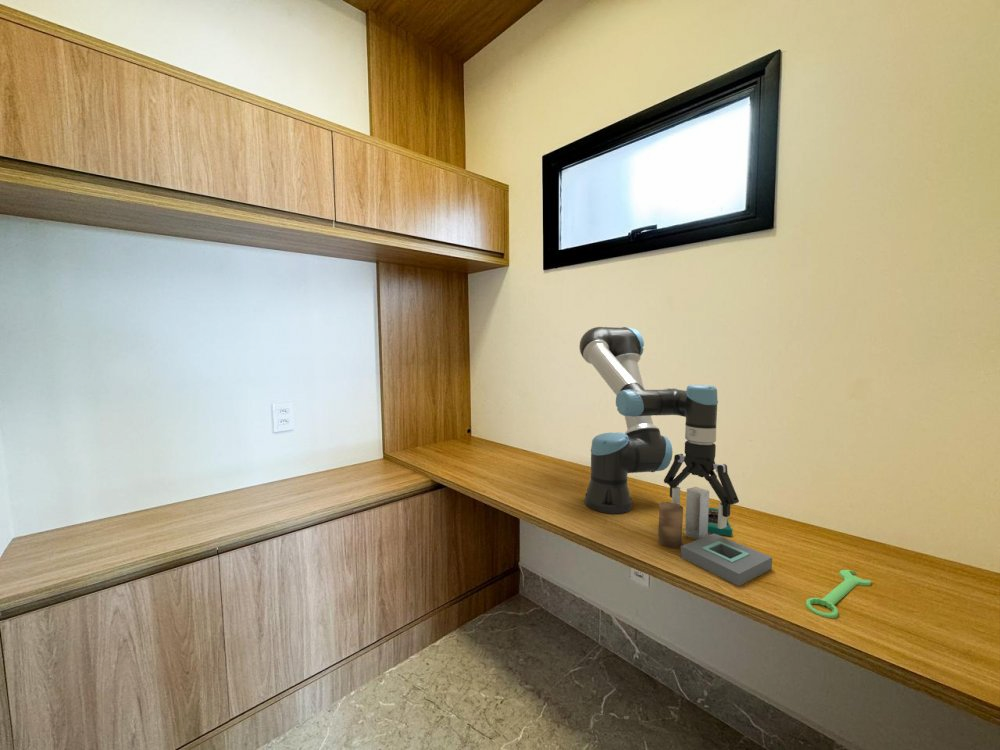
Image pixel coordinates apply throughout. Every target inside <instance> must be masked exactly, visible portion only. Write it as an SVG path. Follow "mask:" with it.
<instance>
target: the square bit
mask: <svg viewBox="0 0 1000 750" xmlns="http://www.w3.org/2000/svg"><path fill="white" fill-rule="evenodd" d="M685 503H686V504H685V525H684V527H685V528H684V535H685V536H688V537H689V538H692V539H693V540H695V541H696V540H698V539H701V538H703V537H706V536H708V534H709V533H708V512H709V508H710V490H707V489H704V488H701V487H698V486H693V487H689V488H687V489H686V502H685Z"/></svg>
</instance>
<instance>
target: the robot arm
mask: <svg viewBox="0 0 1000 750" xmlns="http://www.w3.org/2000/svg"><path fill="white" fill-rule="evenodd" d="M644 342H645V341H644V339H643V335H642V334H641V333H640V331H638V330H637V329H635V328H633V327H628V326H622V327H608V326H605V327H604V326H597V327H593V328H590V329H588V330H587V331H586V332H584V333H583V335H582V337H581V338H580V341H579V346H578V347H579V353H580V355H581V357H582V358H583V360H584V361H585V362H586V363H588V364H591V366H593V367H594V369H595V370H596V371H597V372H598V374H599V375H600V376H601V378H603V380H604V382H605V383H606V384H607V386H608V387H609V388H610V389H611V390H612V392H613V393H614V394H615V395H616V398H615V406H616V408H617V409H616V410H617V412H618V413H619V414H620V415H621V416H624V419H625V422H626V423H625V424H626V427H627V430H626V431H625V433H624V432H623V433H622V432H604V433H600V434H597V435H596V436H594V437H593V438H592V440H591V447H590V456H591V457H590V481H589V482H588V483H589V484H588V486H587V489H586V493H585V494H584V504H585V506H586V507H587V508H589V509H591V510H593V511H596V512H600V513H604V514H612V515H615V514H625V513H628V512H630V511H632V509H633V499H632V497H631V495H630V490H629V486H628V474H633V473H635V474H636V473H649V472H650V473H655V472H661V471H665V470H666V469H667V468H668V467H669V466H670V464H671V461H672V458H673V462H672V464H671V466H670V468H669V470H668V472H667V474H666V475H665V477H664V479H663V483H664V484H667V485H668V486H669V497H670V499H671V503H676V504H679V505H681V486H680V484H681V483H682V482H683V481H684V480H685V479H686V478H687V477H688V476H690V474H691V475H693V476H697V477H698V478H704V479H705V480H706V481H707V482H708V484H709V485H710V487H711V488H712V490H713V491H714V492H715V495H716V496H717V498H718V499H719V501H720V502H718V506H717V507H718V508H717V509H718V528H719V529H722V528H725V527H727V520H728V517H730V516H731V506H732V505H735V504H737V503H738V504H739V502H740V500H739V497H738V495H737V492H736V490H735V488H734V486H733V482H732V481H731V478H730V476H729V474H728V473H729V472H728V465H727V464H726V463H722V464H717V463H716V462H715V459H716V450H717V449H716V447H717V446H716V445H717V444H715V442H717V421H718V418H717V416H718V403H719V400H718V389H717V387H716V386H714V385H706V384H705V385H704V384H689V385H688V386H687V387H686V389H685V390H684V389H677V388H664V389H645V387H644V384H643V379H642V374H641V372H640V368H639V362H640V360H641V356H642V354H643V353H644V350H645V349H644V346H645V343H644ZM652 416H678V417H679V416H680V417H684V418H685V428H684V430H685V431H684V432H685V433H684V434H685V435H684V437H685V438H684V439H685V440H686V441H684V454H685V455H684V454H683V453H679V454H674V457H673V446H672V442H671V440H670V439H668V437H667V436H664V435H661V431H660V428H659V427H658V426H656V425H655V424H654V422H653V418H652ZM683 463H684V464H685V465H686V466H685V467H684V468H683V469H682V470H681V471H680V472H679V470H680V468H681V466H682V465H683ZM714 470H715V471H714ZM678 472H679V474H678ZM716 473H717V474H716ZM677 474H678V475H677Z"/></svg>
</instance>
